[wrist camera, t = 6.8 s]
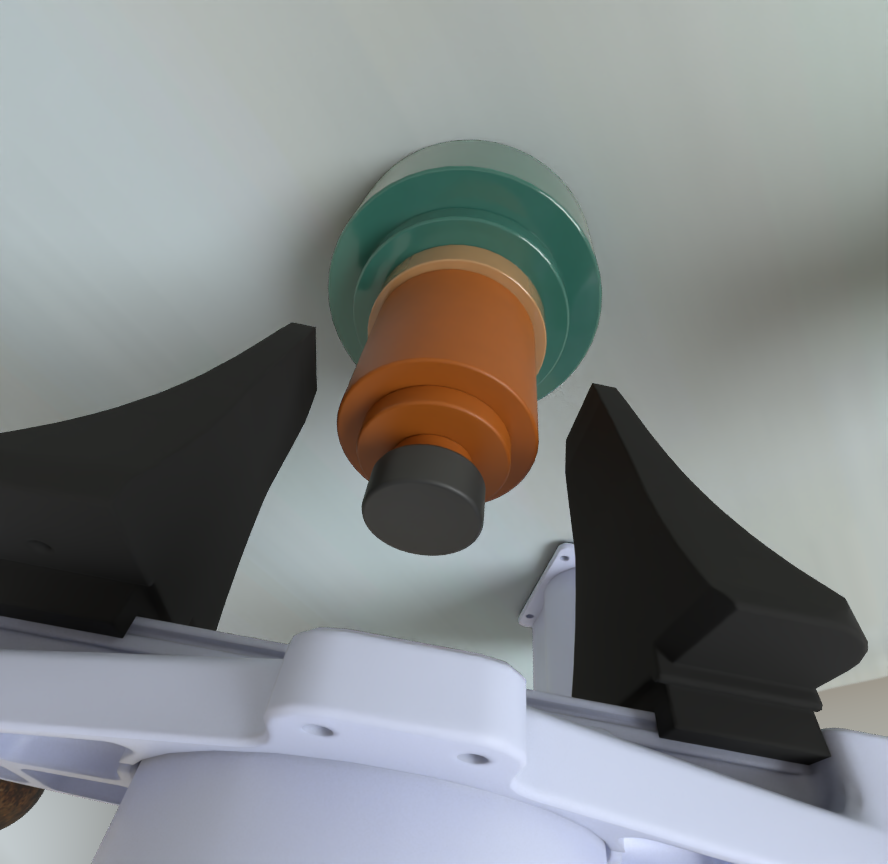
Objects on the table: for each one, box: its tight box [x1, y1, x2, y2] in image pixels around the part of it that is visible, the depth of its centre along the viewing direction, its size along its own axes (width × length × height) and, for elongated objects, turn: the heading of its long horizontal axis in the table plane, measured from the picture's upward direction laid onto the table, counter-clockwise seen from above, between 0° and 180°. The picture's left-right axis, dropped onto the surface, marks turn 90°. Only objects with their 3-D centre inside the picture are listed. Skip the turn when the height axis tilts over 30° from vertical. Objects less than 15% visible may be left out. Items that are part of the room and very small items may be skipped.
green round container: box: [328, 140, 602, 401], centre depth 16 cm, size 9×9×5 cm
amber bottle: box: [337, 269, 539, 556], centre depth 12 cm, size 5×5×6 cm
